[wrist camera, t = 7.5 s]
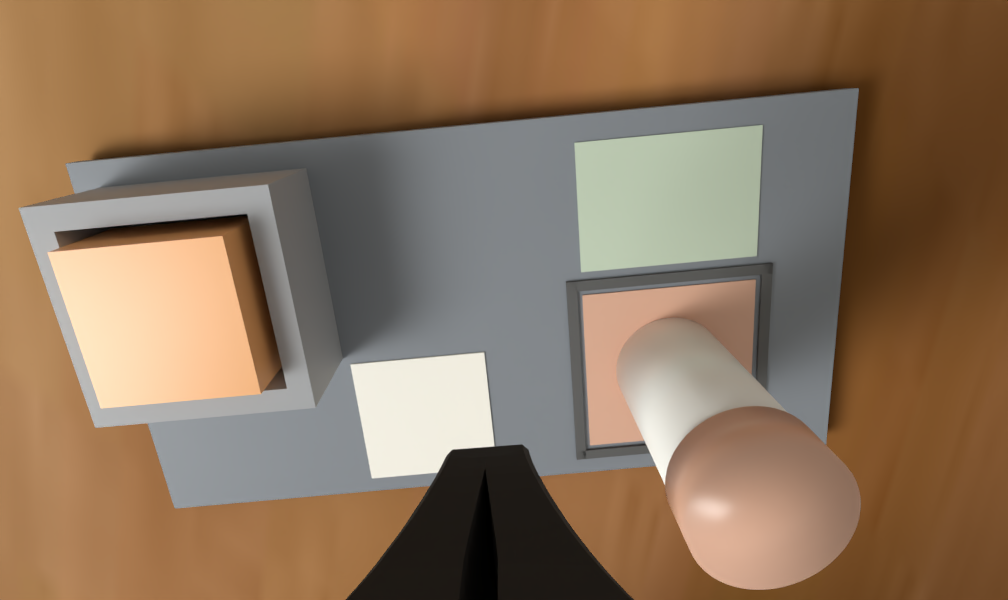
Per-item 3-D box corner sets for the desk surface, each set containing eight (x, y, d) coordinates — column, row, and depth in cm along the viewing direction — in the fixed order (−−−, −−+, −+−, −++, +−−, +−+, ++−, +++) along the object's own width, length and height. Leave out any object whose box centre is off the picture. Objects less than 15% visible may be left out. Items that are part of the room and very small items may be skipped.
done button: (292, 352, 17) (261, 394, 14) (154, 365, 17) (100, 408, 14) (261, 214, 15) (222, 236, 13) (112, 228, 16) (47, 252, 13)
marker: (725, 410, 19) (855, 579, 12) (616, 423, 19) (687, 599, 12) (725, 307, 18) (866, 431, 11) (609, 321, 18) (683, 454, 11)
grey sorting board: (816, 440, 20) (881, 512, 17) (183, 496, 20) (122, 578, 17) (846, 88, 17) (937, 87, 13) (79, 160, 17) (-24, 179, 14)
